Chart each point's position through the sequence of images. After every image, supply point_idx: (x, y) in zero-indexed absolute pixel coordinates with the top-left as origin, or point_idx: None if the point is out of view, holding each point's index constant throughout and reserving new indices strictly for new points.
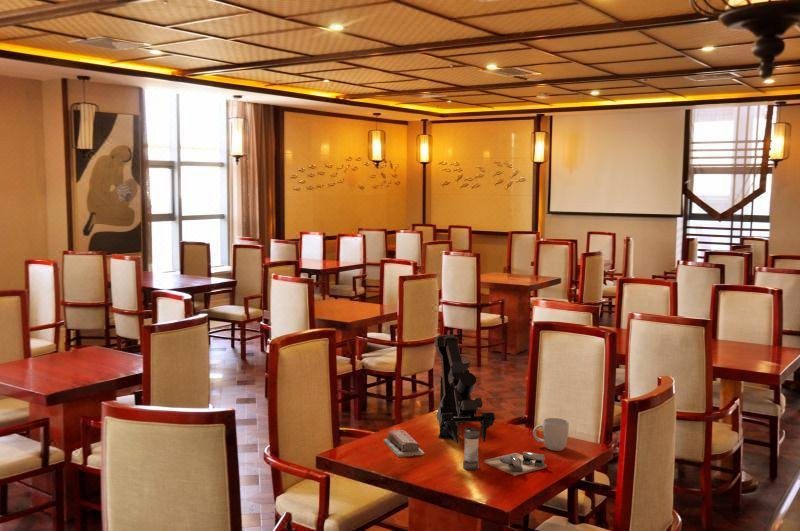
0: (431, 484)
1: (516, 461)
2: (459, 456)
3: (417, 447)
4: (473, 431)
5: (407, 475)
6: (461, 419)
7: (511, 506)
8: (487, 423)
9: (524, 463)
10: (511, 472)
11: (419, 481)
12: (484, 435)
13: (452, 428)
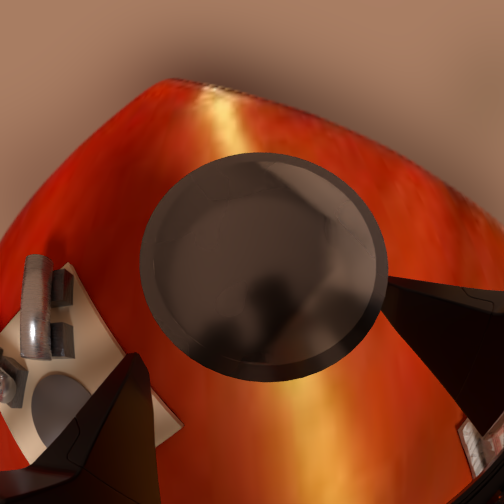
0: (361, 152)
1: (34, 254)
2: (320, 480)
3: (489, 431)
4: (239, 188)
5: (443, 208)
6: (494, 491)
7: (148, 90)
8: (14, 473)
9: (21, 366)
10: (75, 275)
11: (398, 169)
12: (112, 383)
13: (494, 293)
